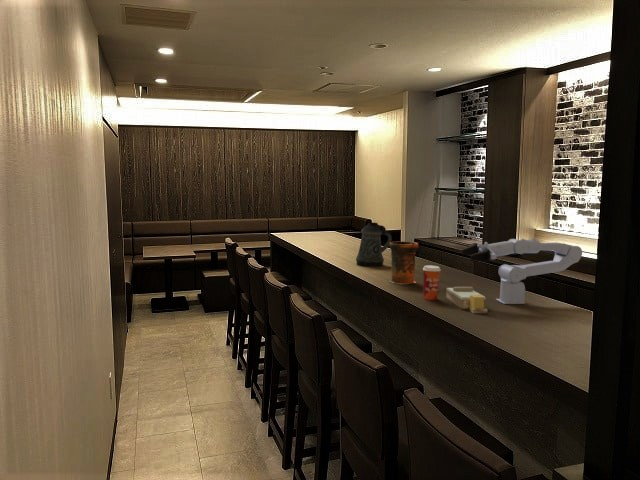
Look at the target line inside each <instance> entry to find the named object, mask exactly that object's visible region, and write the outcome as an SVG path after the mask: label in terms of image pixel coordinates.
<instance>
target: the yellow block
mask: <svg viewBox="0 0 640 480" xmlns="http://www.w3.org/2000/svg"><path fill="white" fill-rule="evenodd" d="M481 295H482V294H481ZM481 295H470V309H468V310H470V312H472V309H483V306H484V297H485V296H484V295H483V296H484V297H483V296H481Z"/></svg>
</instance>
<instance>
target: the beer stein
mask: <svg viewBox="0 0 640 480" xmlns="http://www.w3.org/2000/svg"><path fill="white" fill-rule="evenodd" d="M360 231H361V237H360V238H361V240H360V244H359V249H358V253H357V256H356V257H355V258H356V259H355V261H356V265H357V266H359V267H360V266H361V267H367V268H369V267H370V268H377V267H382V266H384V260H385V258H384V256H383V252H384V251H386V250H387V249H388V248H389V247H390V245H389V244H390V243H391V242H392V234H391V233H392V232H390V231H388V230H387V229H386V227H385V226H384V225H380V224H378V222H368V224H366V225H365V226H364V227H363V228H362V229H361V230H360ZM381 236H386V237H387V240H386V242H385V244H384V245H383V246H382V238H381Z"/></svg>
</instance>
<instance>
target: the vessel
mask: <svg viewBox="0 0 640 480" xmlns="http://www.w3.org/2000/svg"><path fill="white" fill-rule="evenodd" d="M389 248H390V253H391V254H390V256H391V268H390V269H391V279H390V280H389V281H388V283H392V284H397V285H409V284H416V283H417V282H416V281H415V267H416V254H417V250H418V249H419V243H418V242H414V241H391V243H390V244H389Z"/></svg>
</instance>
